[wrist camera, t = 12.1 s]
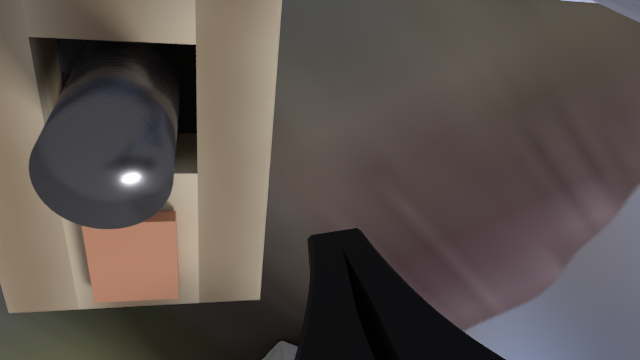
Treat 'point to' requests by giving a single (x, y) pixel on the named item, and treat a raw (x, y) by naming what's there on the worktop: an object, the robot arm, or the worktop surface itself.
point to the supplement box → (282, 352)
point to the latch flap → (134, 260)
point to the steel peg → (111, 136)
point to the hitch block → (191, 149)
